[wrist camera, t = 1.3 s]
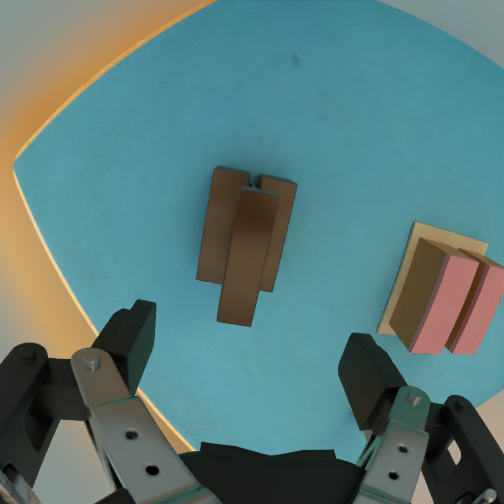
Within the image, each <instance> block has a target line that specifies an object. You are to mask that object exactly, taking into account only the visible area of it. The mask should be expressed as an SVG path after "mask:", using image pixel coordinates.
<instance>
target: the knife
mask: <svg viewBox="0 0 504 504" xmlns="http://www.w3.org/2000/svg"><path fill="white" fill-rule="evenodd" d="M279 199H280V197H279V196H278V195H277V194H276V192H273V191H268V190H263V189H258V188H256V186H255V184H254V183H251V182H250V186H249V187H247V186H240V190H239V196H238V201H237V206H236V211H235V217H234V222H233V227H232V233H231V238H230V243H229V249H228V254H227V260H226V266H225V271H224V277H223V282H222V288H221V294H220V300H219V306H218V313H217V322H222V323H228V324H235V325H241V326H247V327H251V324H252V320H253V316H254V311H255V307H256V303H257V298H258V294H259V290H260V285H261V281H262V276H263V272H264V268H265V263H266V259H267V254H268V250H269V245H270V241H271V236H272V232H273V227H274V222H275V218H276V213H277V209H278V204H279Z"/></svg>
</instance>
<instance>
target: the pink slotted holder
mask: <svg viewBox="0 0 504 504" xmlns="http://www.w3.org/2000/svg"><path fill="white" fill-rule="evenodd" d="M487 247H488V244H487V243H484V242H481V241H478V240H475V239H472V238H469V237H466V236H463V235H460V234H456V233H453V232H450V231H447V230H443V229H440V228H437V227H433V226H430V225H427V224H423V223H420V222H416V221H414V223H413V227H412V230H411V234H410V237H409V241H408V244H407V247H406V250H405V254H404V257H403V260H402V263H401V266H400V269H399V272H398V275H397V278H396V281H395V283H394V286H393V289H392V292H391V295H390V297H389V300H388V303H387V305H386V308H385V310H384V313H383V316H382V318H381V321H380V323H379V326H378V328H377V330H376V333H377V334H386V335H397V336H398V337H399V338H400V340H401V341H402V342H403V344H404V345H405V346H406V348H407V349H408V350H409V352H410V353H414V354H440V353H441V352H442V350H443V348H444V346H445V347H446V348H447V349H448V350H449V351H450V352H451V353H452V354H475V353H476V351H477V349H478V347H479V345H480V343H481V341H482V339H483V337H484V335H485V333H486V331H487V329H488V327H489V325H490V323H491V321H492V318H493V316H494V314H495V312H496V309H497V307H498V305H499V302H500V300H501V297H502V295H503V292H504V267H503V266H501V265H500V264H498V263H496V262H494V261H492V260H491V259H489V258H487V257H485V254H486V250H487Z"/></svg>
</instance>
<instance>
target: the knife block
mask: <svg viewBox="0 0 504 504" xmlns="http://www.w3.org/2000/svg"><path fill="white" fill-rule="evenodd" d="M249 179H250V173H249V171H244V170H239V169H233V168H228V167H222V166H217V167H216V168H214V172H213V177H212V183H211V189H210V194H209V200H208V206H207V212H206V218H205V224H204V230H203V237H202V243H201V250H200V256H199V263H198V270H197V277H196V280H201V281H206V282H212V283H218V284H222V282H223V277H224V271H225V266H226V260H227V254H228V249H229V243H230V238H231V233H232V227H233V222H234V217H235V211H236V206H237V201H238V196H239V190H240V186H247V187H248V184H249ZM257 188H258V189H263V190H268V191H273V192H276V194H277V195H278V196H279V197H280V199H279V204H278V209H277V213H276V218H275V222H274V227H273V232H272V236H271V241H270V245H269V250H268V254H267V259H266V263H265V268H264V272H263V276H262V281H261V285H260V291H266V292H273V288H274V284H275V280H276V275H277V271H278V267H279V263H280V259H281V254H282V250H283V246H284V242H285V237H286V233H287V229H288V224H289V220H290V216H291V211H292V207H293V202H294V198H295V193H296V189H297V184H296V183H294V182H293V181H291V180H289V179H284V178H279V177H275V176H270V175H265V174H260V175H259V180H258V184H257Z"/></svg>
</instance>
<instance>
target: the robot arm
mask: <svg viewBox="0 0 504 504" xmlns="http://www.w3.org/2000/svg"><path fill="white" fill-rule="evenodd" d="M155 323H156V303H155V302H150V301H146V300H141V299H137V300H136V302H135V304H134V305H133V307H132V308H131V310H129V309H124V308H123V309H121V310H119V311H117V312H116V313H114V314H113V315H112V317H111V318H110V320H109V322H107V324H106V325H105V328H103V330H102V331H101V333H100V334H99V336H98V337H97V339H96V340H95V342H94V343H93V344H92V346H91V347H90V348H84V349H81V350H78V351H77V352H75V353H74V354H73V356H72V357H71V359H56V358H48V354H47V351H46V349H45V348H44V347H43V346H41V345H39V344H36V343H23V344H20V345H17V346H16V347H14V348H13V349H12V350H11V352H10V353H9V354H8V355H7V357H6V358H5V359H4V360H3V362H2V363H1V364H0V504H41V502H40V500H39V499H38V497H37V496H36V494H35V493H34V492H33V490H32V488H33V486H34V483H35V480H36V478H37V475H38V472H39V470H40V467H41V465H42V462H43V460H44V457H45V455H46V452H47V450H48V447H49V445H50V443H51V440H52V438H53V436H54V433H55V431H56V429H57V427H58V424H59V422H60V420H61V419H63V420H77V421H83V422H84V424H85V426H86V429H87V432H88V434H89V437H90V439H91V441H92V444H93V446H94V448H95V450H96V453H97V455H98V457H99V459H100V462H101V464H102V466H103V469H104V471H105V474H106V476H107V478H108V480H109V483H110V484H111V486H112V488H113V490H114V492H113V493H112V494H110V495H108V496H107V497H105V498H103V499H101V500H100V501H98V502H96V503H94V504H411V499H412V497H413V493H414V490H415V487H416V484H417V481H418V478H419V474H420V471H422V473H423V476H424V478H425V481H426V484H427V486H428V489H429V491H430V494H431V497H432V499H433V502H434V504H504V454H503V452H502V450H501V449H500V447H499V445H498V444H497V442H496V441H495V439H494V437H493V436H492V434H491V433H490V431H489V429H488V428H487V426H486V425H485V423H484V422H483V420H482V419H481V417H480V416H479V414H478V413H477V411H476V410H475V408H474V407H473V405H472V404H471V402H470V401H468V400H467V399H466V398H464V397H462V396H459V395H451V396H449V397H448V398H447V400H446V401H445V403H444V404H438V403H433V402H430V399H429V397H428V395H427V394H426V393H425V392H424V391H422V390H421V389H419V388H417V387H414V386H408V385H407V383H406V382H405V380H404V378H403V377H402V375H401V374H400V372H399V371H398V369H397V368H396V366H395V364H394V363H393V362H392V360H391V358H390V356H389V355H388V353H387V352H386V351H384V350H383V349H382V348H381V347H380V346H377V344H376V342H375V341H374V339H373V338H372V336H371V335H370V334H365V333H352V334H351V335H350V337H349V340H348V342H347V345H346V347H345V350H344V352H343V354H342V357H341V359H340V362H339V366H338V375H339V378H340V380H341V383H342V385H343V388H344V390H345V393H346V395H347V398H348V401H349V403H350V406H351V408H352V411H353V414H354V416H355V419H356V421H357V424H358V427H359V429H360V431H362V430H372V432H373V433H372V434H371V436H370V437H369V439H368V441H367V443H366V445H365V447H364V449H363V451H362V453H361V455H360V456H359V458H358V460H357V462H356V464H353V463H350V462H347V461H344V460H340V459H336V456H335V452H334V450H301V451H296V452H291V453H285V454H280V455H273V456H272V455H266V454H262V453H258V452H254V451H251V450H247V449H244V448H240V447H237V446H230V445H221V444H213V443H206V442H201V447H200V451H192V452H186V453H182V454H177V453H176V452H175V450H174V449H173V447H172V446H171V444H170V443H169V442H168V440H167V439H166V437H165V436H164V434H163V433H162V431H161V430H160V428H159V427H158V425H157V424H156V422H155V420H154V419H153V417H152V416H151V414H150V412H149V411H148V409H147V408H146V406H145V404H144V403H143V401H142V400H141V398H140V397H139V396H135V393H136V390H137V388H138V385H139V382H140V380H141V377H142V375H143V372H144V370H145V367H146V364H147V362H148V359H149V357H150V354H151V352H152V349H153V345H154V339H155ZM454 439H455V441H456V443H457V445H458V447H459V449H460V451H461V459H460V461H459V463H458V464H457V465H455V463H454V461H453V459H452V457H451V454H450V452H449V451H448V449H447V448H448V447H449V445H450V444H451V443H452V442H453V441H454Z"/></svg>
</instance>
